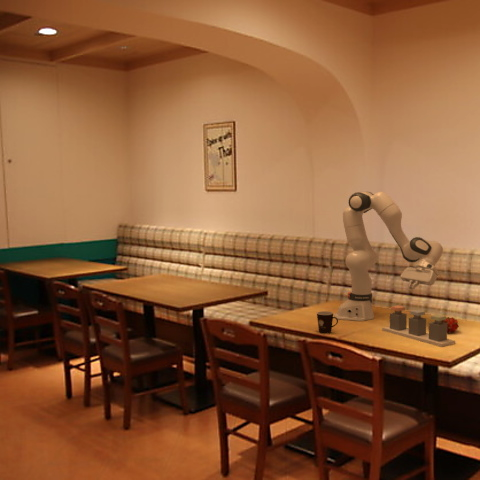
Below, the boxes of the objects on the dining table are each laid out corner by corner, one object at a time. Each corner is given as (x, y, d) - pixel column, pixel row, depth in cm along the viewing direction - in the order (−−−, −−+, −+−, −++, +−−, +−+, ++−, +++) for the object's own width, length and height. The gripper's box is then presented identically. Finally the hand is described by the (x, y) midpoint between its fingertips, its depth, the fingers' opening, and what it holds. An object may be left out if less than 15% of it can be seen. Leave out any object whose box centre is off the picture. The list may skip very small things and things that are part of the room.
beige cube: (410, 320, 310) (410, 311, 310) (416, 318, 313) (417, 309, 312) (417, 321, 306) (418, 312, 305) (424, 320, 309) (424, 311, 308)
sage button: (430, 325, 300) (430, 315, 299) (437, 323, 302) (437, 314, 302) (438, 327, 295) (439, 317, 295) (445, 325, 298) (445, 316, 298)
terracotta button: (391, 315, 321) (391, 306, 320) (397, 314, 323) (397, 305, 323) (398, 317, 317) (398, 308, 316) (405, 315, 319) (405, 307, 319)
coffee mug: (313, 330, 326) (313, 312, 324) (328, 329, 329) (328, 310, 328) (324, 336, 315) (324, 316, 314) (339, 334, 318) (339, 315, 317)
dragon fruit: (440, 336, 315) (454, 336, 322) (452, 329, 310) (466, 329, 317) (433, 321, 319) (447, 321, 326) (445, 314, 314) (459, 314, 321)
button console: (382, 330, 324) (382, 312, 322) (395, 327, 329) (395, 310, 328) (441, 347, 292) (441, 327, 291) (455, 343, 297) (455, 324, 296)
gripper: (405, 262, 335) (393, 281, 331) (436, 266, 318) (423, 287, 314) (411, 269, 338) (398, 289, 334) (441, 274, 321) (429, 295, 317)
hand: (410, 288), depth 324 cm, fingers closed
